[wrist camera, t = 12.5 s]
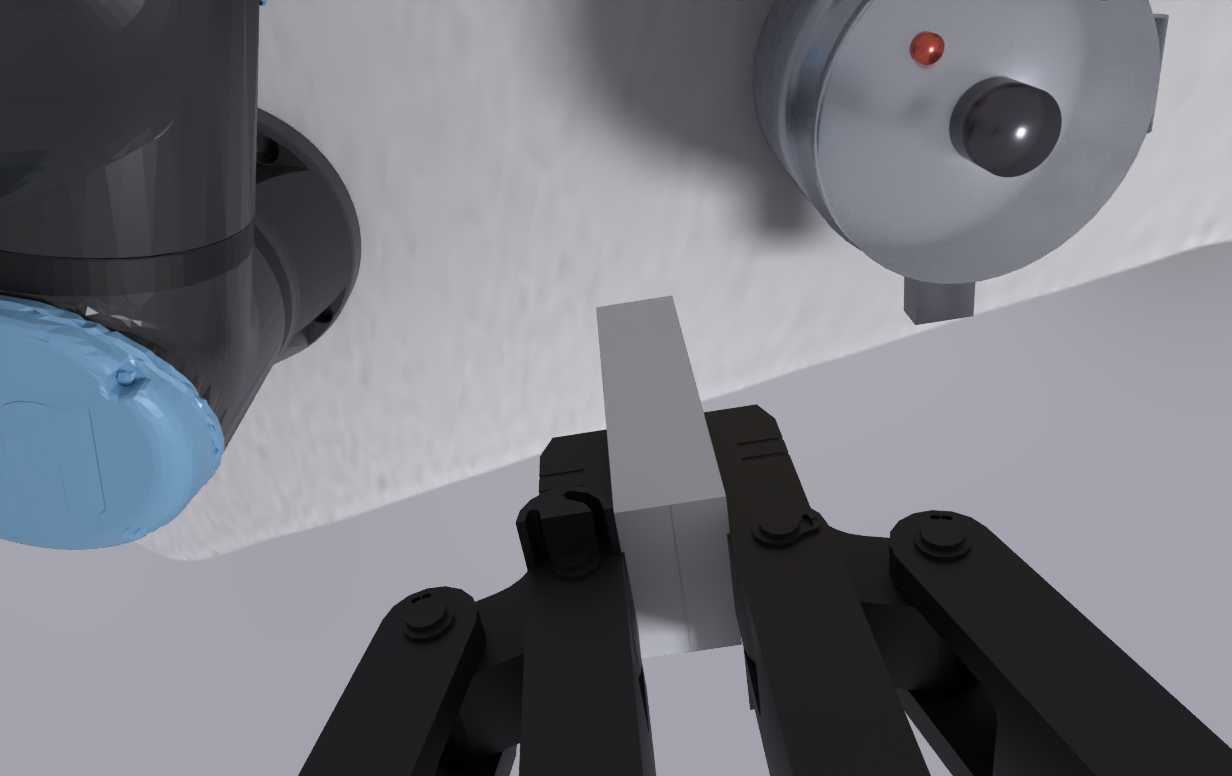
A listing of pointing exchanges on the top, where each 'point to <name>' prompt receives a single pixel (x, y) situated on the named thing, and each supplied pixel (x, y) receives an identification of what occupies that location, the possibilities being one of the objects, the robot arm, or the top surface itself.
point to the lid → (980, 127)
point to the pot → (784, 101)
